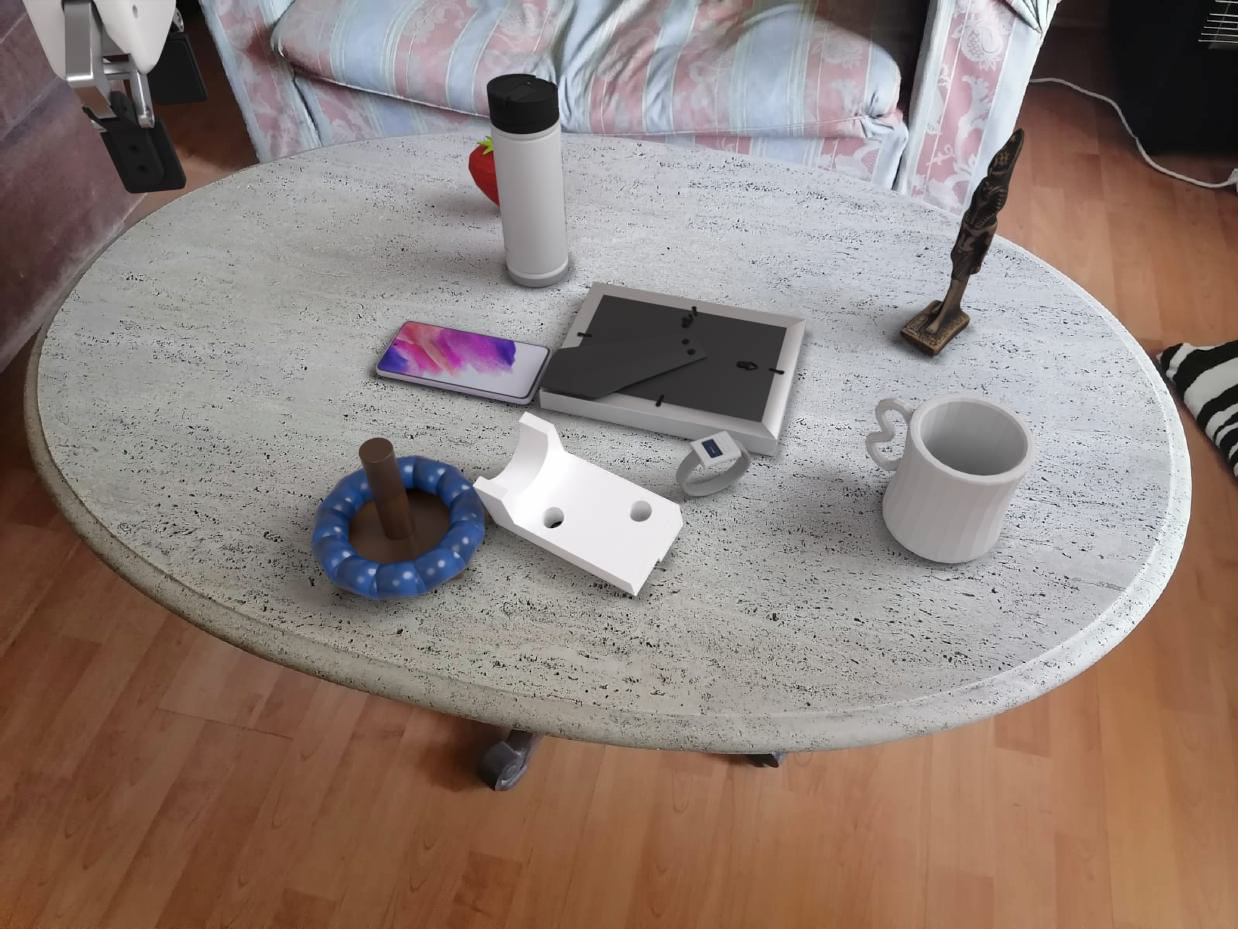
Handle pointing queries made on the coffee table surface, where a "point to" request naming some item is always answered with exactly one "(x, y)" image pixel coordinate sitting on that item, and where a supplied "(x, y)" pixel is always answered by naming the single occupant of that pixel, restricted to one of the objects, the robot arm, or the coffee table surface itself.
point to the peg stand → (394, 512)
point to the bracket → (580, 509)
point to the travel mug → (529, 177)
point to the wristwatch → (713, 463)
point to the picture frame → (676, 366)
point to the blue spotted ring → (405, 575)
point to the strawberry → (484, 169)
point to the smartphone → (465, 362)
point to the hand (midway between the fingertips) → (171, 142)
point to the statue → (967, 253)
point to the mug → (952, 473)
